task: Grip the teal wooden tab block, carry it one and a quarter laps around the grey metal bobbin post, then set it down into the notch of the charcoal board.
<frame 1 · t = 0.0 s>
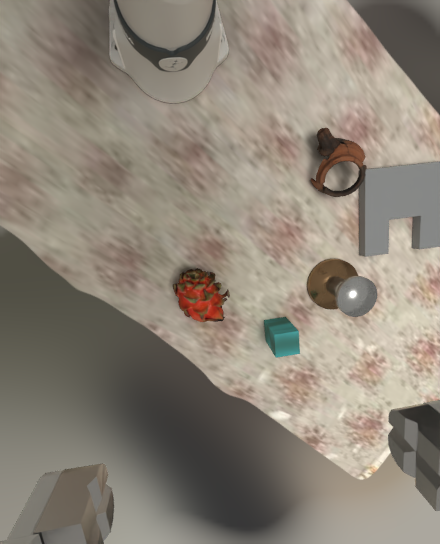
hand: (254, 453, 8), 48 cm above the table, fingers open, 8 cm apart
notched board: (397, 209, 58), on the table
bobbin post: (331, 283, 60), on the table
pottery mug: (327, 162, 55), on the table
tab block: (275, 328, 61), on the table
dragon fruit: (201, 291, 57), on the table
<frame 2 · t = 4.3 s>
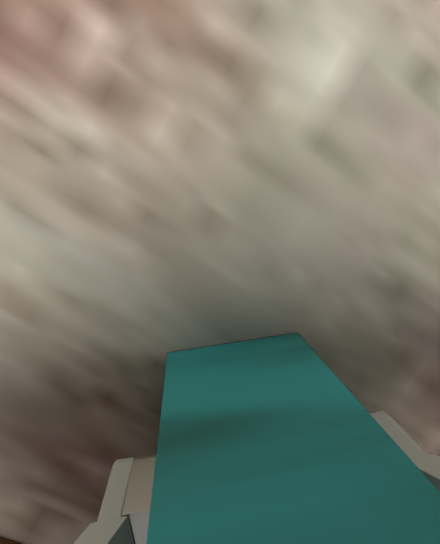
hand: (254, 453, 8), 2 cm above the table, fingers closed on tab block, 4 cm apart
tab block: (240, 399, 11), on the table, touching gripper
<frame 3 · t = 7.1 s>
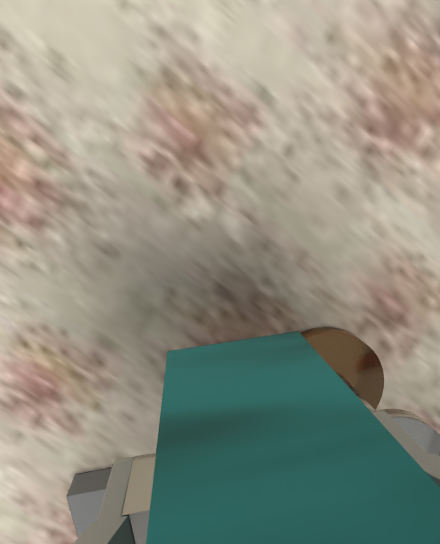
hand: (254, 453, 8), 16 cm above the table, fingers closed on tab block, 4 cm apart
notched board: (181, 527, 28), on the table
bobbin post: (319, 380, 26), on the table
tab block: (240, 398, 11), point 13 cm above the table, touching gripper
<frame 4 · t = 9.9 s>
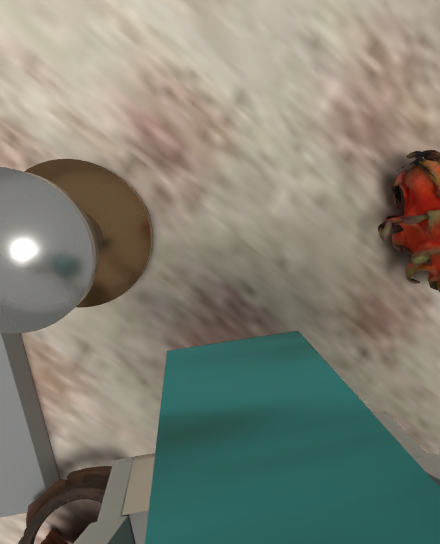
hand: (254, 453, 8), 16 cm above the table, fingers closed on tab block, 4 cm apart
bobbin post: (82, 235, 22), on the table
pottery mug: (105, 503, 27), on the table
tab block: (240, 398, 11), point 13 cm above the table, touching gripper
dragon fruit: (414, 222, 24), on the table
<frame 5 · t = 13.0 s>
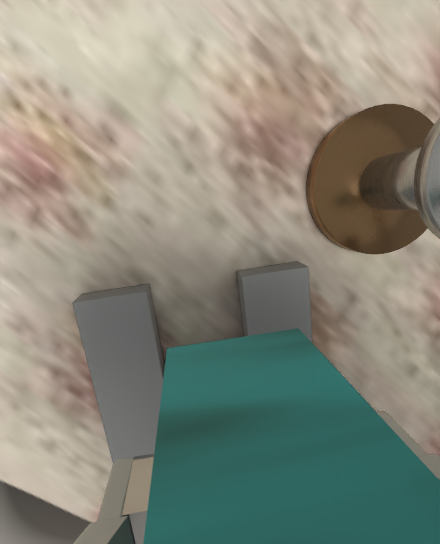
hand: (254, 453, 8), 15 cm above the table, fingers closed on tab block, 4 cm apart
notched board: (207, 372, 24), on the table
bobbin post: (370, 184, 22), on the table
tab block: (240, 396, 11), point 12 cm above the table, touching gripper
when the fingers open (4 cm above the table, at t = 15.7 s): tab block drops 2 cm, on the table.
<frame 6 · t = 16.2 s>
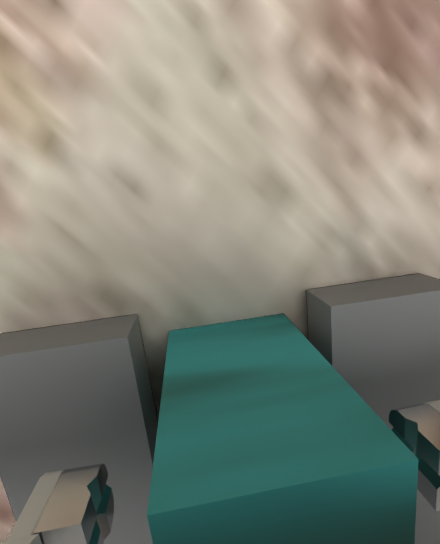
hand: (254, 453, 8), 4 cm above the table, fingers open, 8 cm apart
notched board: (243, 472, 13), on the table
tab block: (233, 373, 12), on the table
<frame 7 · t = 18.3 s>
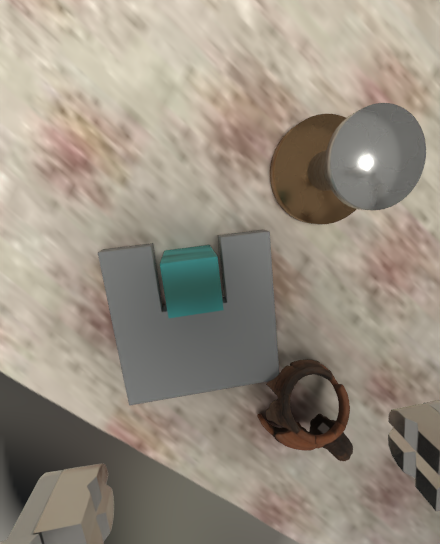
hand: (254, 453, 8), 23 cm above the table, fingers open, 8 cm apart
notched board: (195, 314, 31), on the table
bobbin post: (318, 172, 30), on the table
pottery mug: (296, 395, 36), on the table
tab block: (190, 269, 30), on the table
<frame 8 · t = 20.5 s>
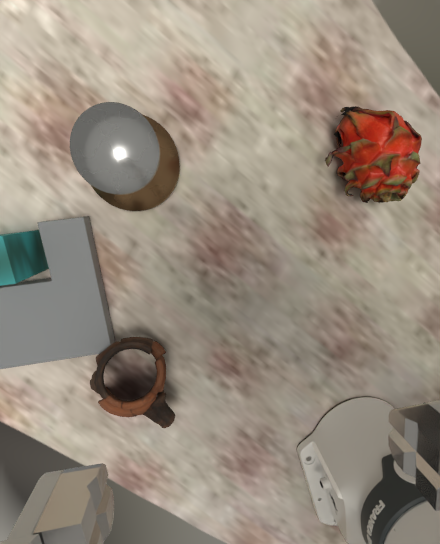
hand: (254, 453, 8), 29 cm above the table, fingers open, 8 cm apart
notched board: (33, 292, 35), on the table
bobbin post: (134, 165, 33), on the table
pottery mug: (141, 371, 39), on the table
tab block: (23, 252, 34), on the table
dragon fruit: (353, 160, 36), on the table
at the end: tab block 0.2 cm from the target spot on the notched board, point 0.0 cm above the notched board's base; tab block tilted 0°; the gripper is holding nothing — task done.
